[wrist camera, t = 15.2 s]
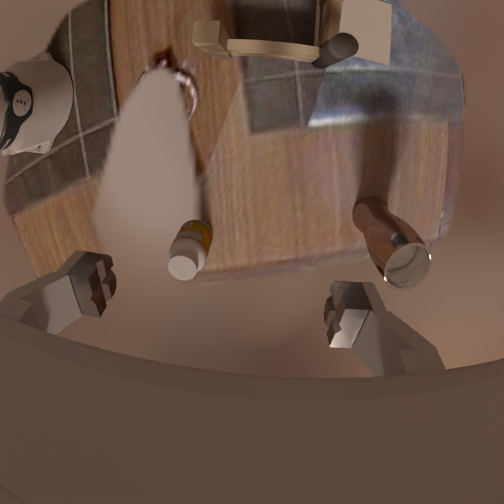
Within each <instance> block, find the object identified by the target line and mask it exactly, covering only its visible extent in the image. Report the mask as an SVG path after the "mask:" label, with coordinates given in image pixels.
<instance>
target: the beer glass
mask: <svg viewBox="0 0 504 504" xmlns="http://www.w3.org/2000/svg"><path fill="white" fill-rule="evenodd" d="M353 222H354V225H355V226H356V227H357V228H358V229H359V230H360V231H361V232H362V233H363V234H364V237H365V241H366V244H367V248H368V251H369V254H370V257H371V259H372V261H373V263H374V265H375V266H376V268H377V270H378V271H379V273H380V274H381V275H382V277H383V278H384V279H385V281H386V283H387V284H388V286H390V287H391V288H393V289H396V290H406V289H410V288H412V287H414V286H416V285H417V284H419V283H420V282H421V281H422V280H423V279H424V278H425V277H426V275H427V274H428V272H429V270H430V268H431V264H432V255H431V252H430V250H429V248H428V247H427V246H426V245H425V243H424V242H423V240H422V239H421V237H420V236H419V235H418V233H417V232H416V231H415V230H414V229H413V228H412V227H411V226H410V225H409V224H408V223H406V222H405V221H404V220H402V219H400V218H399V217H397V216H395V215H394V214H392V213H390V212H389V210H388V208H387V206H386V204H385V203H384V202H383V201H382V200H381V199H379V198H377V197H367V198H364V199H362V200H361V201H360V202H359V203H358V204H357V205H356V206H355V208H354V210H353Z"/></svg>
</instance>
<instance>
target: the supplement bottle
mask: <svg viewBox="0 0 504 504" xmlns="http://www.w3.org/2000/svg"><path fill="white" fill-rule="evenodd" d="M212 240H213V233H212V230H211V228H210V227H209V226H208V225H207V224H206V223H205V222H203V221H200V220H190V221H188V222H186V223H185V224H184V225H183V226H182V227H181V229H180V231H179V232H178V234H177V236H176V238H175V240H174V241H173V243H172V245H171V248H170V250H169V259H170V260H169V262H168V269H169V271H170V273H171V274H172V275H173V276H174V277H175V278H177V279H180V280H189V279H192V278H193V277H194V276H195V275H196V272H197V271H199V270H200V269H201V268H202V267H203V266H204V264H205V262H206V259H207V256H208V252H209V249H210V246H211V243H212Z"/></svg>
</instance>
